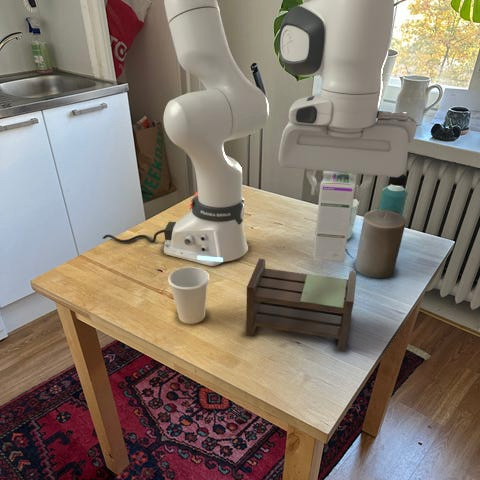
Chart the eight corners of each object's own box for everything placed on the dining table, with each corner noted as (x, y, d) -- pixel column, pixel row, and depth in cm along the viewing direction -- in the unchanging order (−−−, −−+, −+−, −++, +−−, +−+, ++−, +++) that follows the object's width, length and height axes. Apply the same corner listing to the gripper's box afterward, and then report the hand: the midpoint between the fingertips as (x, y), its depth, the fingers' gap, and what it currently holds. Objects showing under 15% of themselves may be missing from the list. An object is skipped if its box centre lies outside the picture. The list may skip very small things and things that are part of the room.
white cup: (357, 233, 129) (363, 199, 122) (346, 244, 123) (352, 210, 117) (331, 226, 132) (336, 193, 126) (320, 236, 127) (324, 203, 120)
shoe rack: (245, 335, 93) (246, 287, 85) (257, 304, 101) (259, 258, 94) (344, 351, 89) (353, 302, 82) (347, 318, 97) (356, 271, 90)
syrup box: (343, 262, 81) (357, 184, 72) (311, 259, 82) (320, 181, 73) (344, 247, 85) (357, 172, 76) (313, 244, 86) (322, 169, 77)
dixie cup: (168, 309, 100) (163, 270, 94) (204, 301, 102) (202, 263, 96) (178, 331, 94) (173, 291, 88) (216, 322, 96) (214, 283, 90)
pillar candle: (402, 271, 112) (416, 215, 103) (373, 283, 108) (386, 226, 99) (373, 255, 119) (385, 201, 110) (346, 265, 115) (355, 210, 105)
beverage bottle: (366, 241, 125) (381, 169, 112) (390, 240, 125) (406, 169, 113) (374, 253, 119) (390, 179, 107) (398, 252, 120) (417, 178, 108)
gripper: (418, 108, 69) (398, 195, 77) (286, 100, 73) (281, 183, 81) (421, 119, 64) (399, 210, 72) (279, 110, 68) (274, 197, 76)
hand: (336, 196), depth 77 cm, fingers closed on syrup box, 5 cm apart
